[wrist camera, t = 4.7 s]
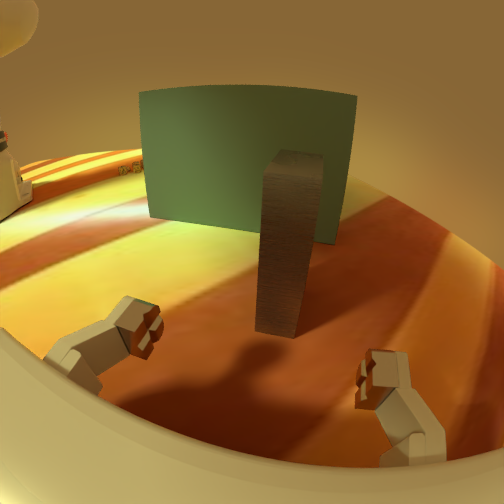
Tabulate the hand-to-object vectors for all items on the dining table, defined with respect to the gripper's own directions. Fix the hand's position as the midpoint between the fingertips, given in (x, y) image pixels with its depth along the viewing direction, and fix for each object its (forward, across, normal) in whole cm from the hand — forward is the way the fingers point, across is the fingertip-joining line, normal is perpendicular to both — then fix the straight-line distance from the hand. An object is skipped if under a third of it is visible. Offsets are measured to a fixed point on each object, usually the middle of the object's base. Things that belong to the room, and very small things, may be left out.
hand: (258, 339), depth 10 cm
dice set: (+33, +31, +6) cm, 46 cm away
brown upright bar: (+7, 0, +5) cm, 9 cm away
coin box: (+27, +6, +5) cm, 28 cm away
